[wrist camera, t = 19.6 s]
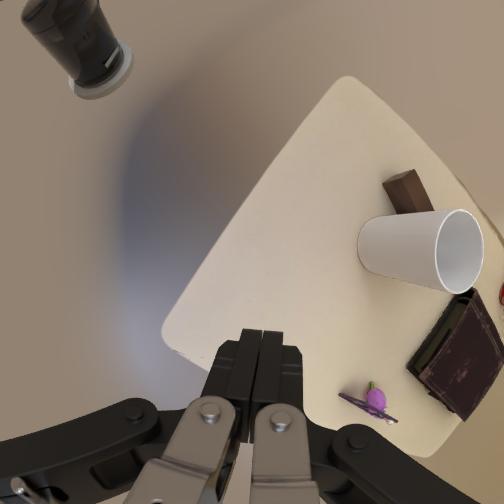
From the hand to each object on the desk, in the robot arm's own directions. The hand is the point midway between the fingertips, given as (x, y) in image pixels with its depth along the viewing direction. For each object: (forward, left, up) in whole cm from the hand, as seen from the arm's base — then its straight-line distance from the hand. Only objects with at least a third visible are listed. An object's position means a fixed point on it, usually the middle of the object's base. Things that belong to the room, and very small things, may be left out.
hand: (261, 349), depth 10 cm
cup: (+2, +21, -25) cm, 33 cm away
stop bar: (-1, +27, -25) cm, 37 cm away
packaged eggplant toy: (+25, +15, -25) cm, 39 cm away
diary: (+28, +37, -25) cm, 53 cm away
